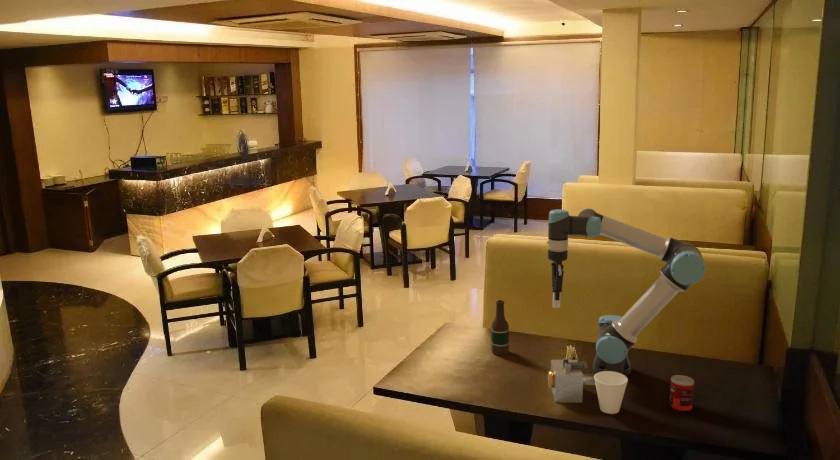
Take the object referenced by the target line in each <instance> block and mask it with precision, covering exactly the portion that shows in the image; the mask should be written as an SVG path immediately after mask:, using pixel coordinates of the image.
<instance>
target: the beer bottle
mask: <svg viewBox="0 0 840 460" xmlns="http://www.w3.org/2000/svg"><path fill="white" fill-rule="evenodd" d="M495 305H496V306H495V308H496V309H495V317H494V319H493V320H492V323H491V326H490V327H491V329H490V330H491V331H490V333H491V334H490V335H491V338H490V339H491V341H490V343H491V344H490V346H491V347H490V348H491V353H492V354H493V355H496V356H499V357H500V356H507V354H509V352H510V329H509V328H510V325H509V323H508V321H507V320H506V317H505V306H504V305H505V301H504V300H501V299H500V300H496V301H495Z"/></svg>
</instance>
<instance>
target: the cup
mask: <svg viewBox="0 0 840 460" xmlns="http://www.w3.org/2000/svg"><path fill="white" fill-rule="evenodd" d="M594 374H595V376H594V379H595V384H596V385H595V388H596V393H597V400H598V404H599V405H598V406H599V409H600V411H601V412H603V413H605V414H607V415H608V414H610V415H615V414H617V413H619V412H620V409H621V406H622V402H623V400H624V399H623V398H624V396H625V395H624V394H625V391H626V389H627V385H628V382H629V379H628V377H627V376H625V375H623V374H621V373H618V372H613V371H602V372H599V373H596V372H595V373H594Z"/></svg>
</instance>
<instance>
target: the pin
mask: <svg viewBox="0 0 840 460" xmlns="http://www.w3.org/2000/svg"><path fill="white" fill-rule="evenodd" d="M582 374H583V386H596V384H595V379H594V376H595V374H596V373H588V374H587V373H582ZM547 385H548V388H549V389H551V388H554V373H553V371H551V370H548V372H547Z"/></svg>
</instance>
